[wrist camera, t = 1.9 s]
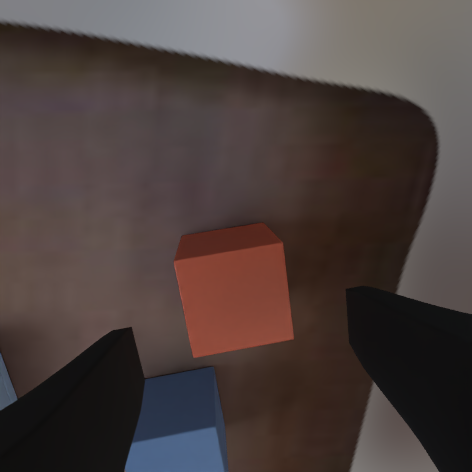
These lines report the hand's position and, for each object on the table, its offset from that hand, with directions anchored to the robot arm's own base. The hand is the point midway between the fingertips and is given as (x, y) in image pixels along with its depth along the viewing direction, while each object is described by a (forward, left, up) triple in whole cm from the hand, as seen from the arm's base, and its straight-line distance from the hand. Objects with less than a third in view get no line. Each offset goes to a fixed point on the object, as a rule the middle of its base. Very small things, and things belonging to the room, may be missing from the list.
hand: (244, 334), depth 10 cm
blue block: (-8, +4, -7) cm, 11 cm away
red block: (0, 0, -7) cm, 7 cm away
